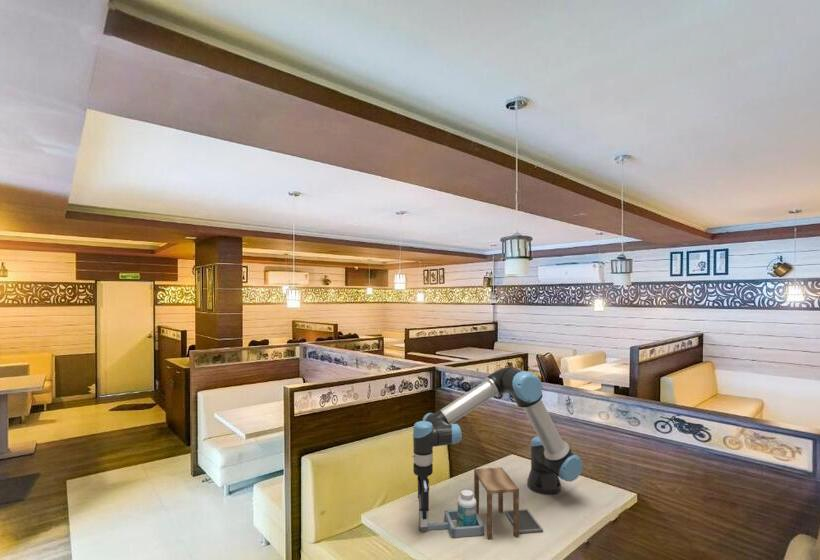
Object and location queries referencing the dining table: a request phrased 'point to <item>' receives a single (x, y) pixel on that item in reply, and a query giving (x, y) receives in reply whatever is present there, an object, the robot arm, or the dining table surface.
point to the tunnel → (493, 484)
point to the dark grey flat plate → (525, 522)
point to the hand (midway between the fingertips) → (423, 523)
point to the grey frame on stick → (449, 525)
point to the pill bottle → (466, 509)
